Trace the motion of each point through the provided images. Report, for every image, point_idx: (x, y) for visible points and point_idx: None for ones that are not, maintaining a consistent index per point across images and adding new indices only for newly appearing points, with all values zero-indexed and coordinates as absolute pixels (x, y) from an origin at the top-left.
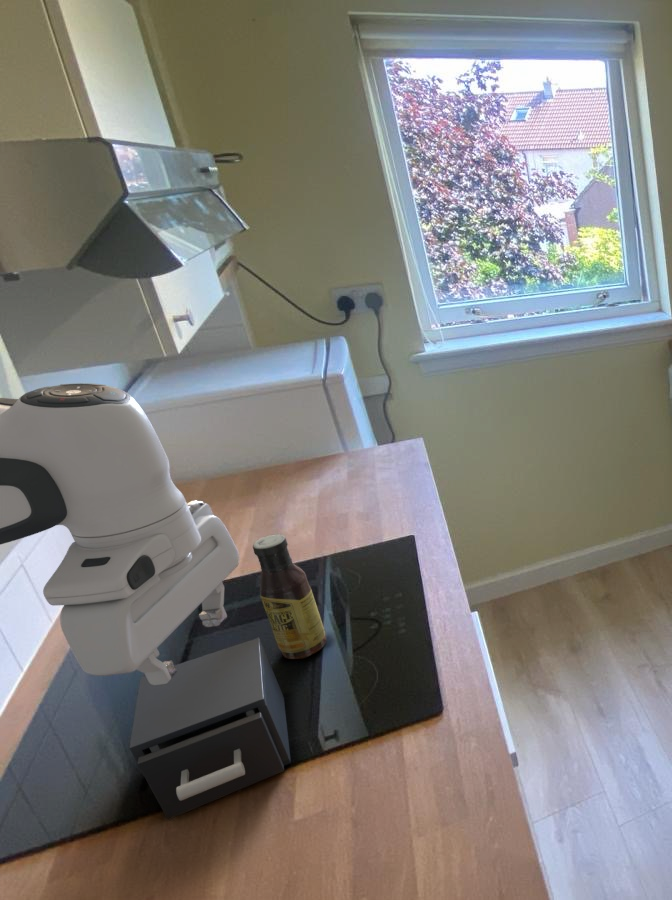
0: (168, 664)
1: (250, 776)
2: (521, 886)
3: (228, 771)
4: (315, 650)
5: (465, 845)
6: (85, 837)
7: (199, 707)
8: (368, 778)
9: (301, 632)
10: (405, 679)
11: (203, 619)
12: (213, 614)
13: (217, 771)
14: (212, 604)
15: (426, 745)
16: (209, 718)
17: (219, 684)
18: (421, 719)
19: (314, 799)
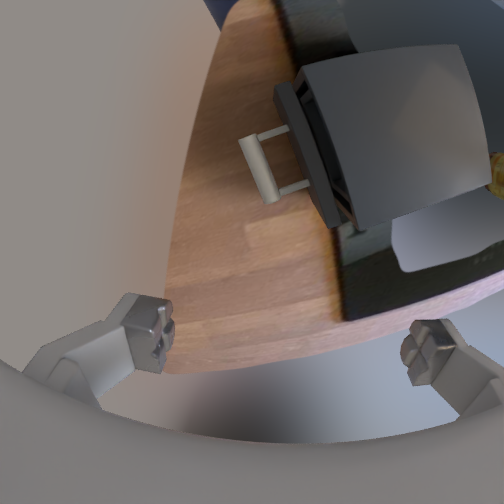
0: (142, 369)
1: (303, 175)
2: None
3: (262, 191)
4: (485, 186)
5: (189, 349)
6: (279, 28)
7: (373, 138)
8: (280, 278)
9: (501, 188)
10: (410, 280)
11: (425, 341)
12: (414, 379)
13: (265, 178)
14: (452, 379)
15: (305, 316)
16: (339, 163)
17: (418, 152)
18: (344, 307)
19: (267, 236)
